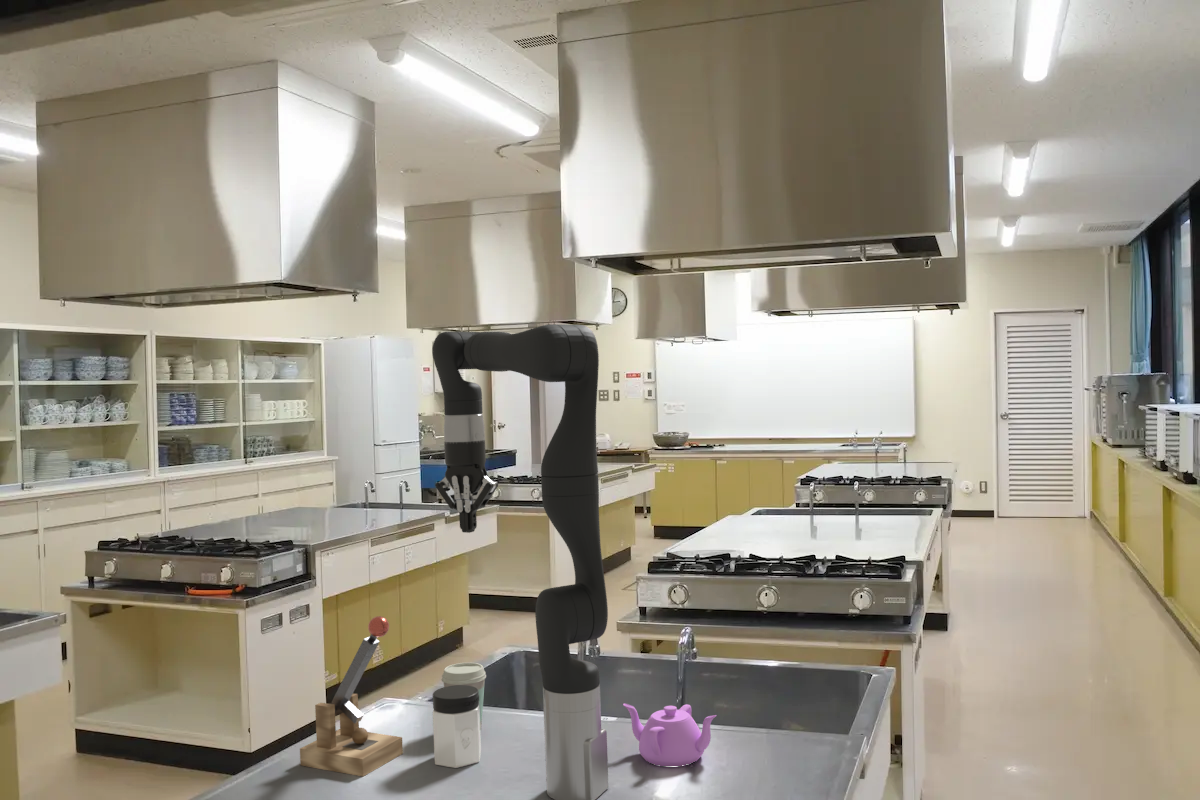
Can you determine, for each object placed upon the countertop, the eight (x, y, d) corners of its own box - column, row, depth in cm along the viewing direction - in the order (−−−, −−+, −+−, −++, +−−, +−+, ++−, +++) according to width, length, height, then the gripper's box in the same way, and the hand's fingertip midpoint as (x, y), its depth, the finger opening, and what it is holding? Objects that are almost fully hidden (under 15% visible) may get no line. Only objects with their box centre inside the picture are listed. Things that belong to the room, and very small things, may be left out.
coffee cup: (497, 726, 191) (494, 664, 190) (469, 740, 183) (466, 676, 183) (463, 719, 195) (460, 659, 195) (434, 733, 188) (431, 671, 188)
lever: (361, 725, 178) (410, 633, 172) (345, 733, 174) (395, 639, 168) (336, 702, 180) (383, 609, 175) (320, 709, 176) (368, 615, 171)
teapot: (719, 765, 167) (717, 714, 167) (639, 775, 164) (638, 722, 164) (698, 741, 179) (696, 693, 179) (624, 749, 176) (622, 700, 176)
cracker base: (402, 753, 178) (400, 696, 178) (363, 776, 168) (360, 715, 168) (342, 743, 184) (339, 688, 184) (300, 765, 174) (298, 706, 174)
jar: (444, 772, 169) (442, 702, 168) (425, 758, 175) (423, 691, 175) (491, 759, 174) (488, 692, 173) (471, 746, 180) (468, 681, 180)
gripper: (505, 437, 183) (509, 530, 183) (446, 438, 189) (450, 528, 189) (483, 440, 176) (487, 536, 177) (423, 440, 182) (427, 533, 182)
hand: (468, 531), depth 183 cm, fingers closed
